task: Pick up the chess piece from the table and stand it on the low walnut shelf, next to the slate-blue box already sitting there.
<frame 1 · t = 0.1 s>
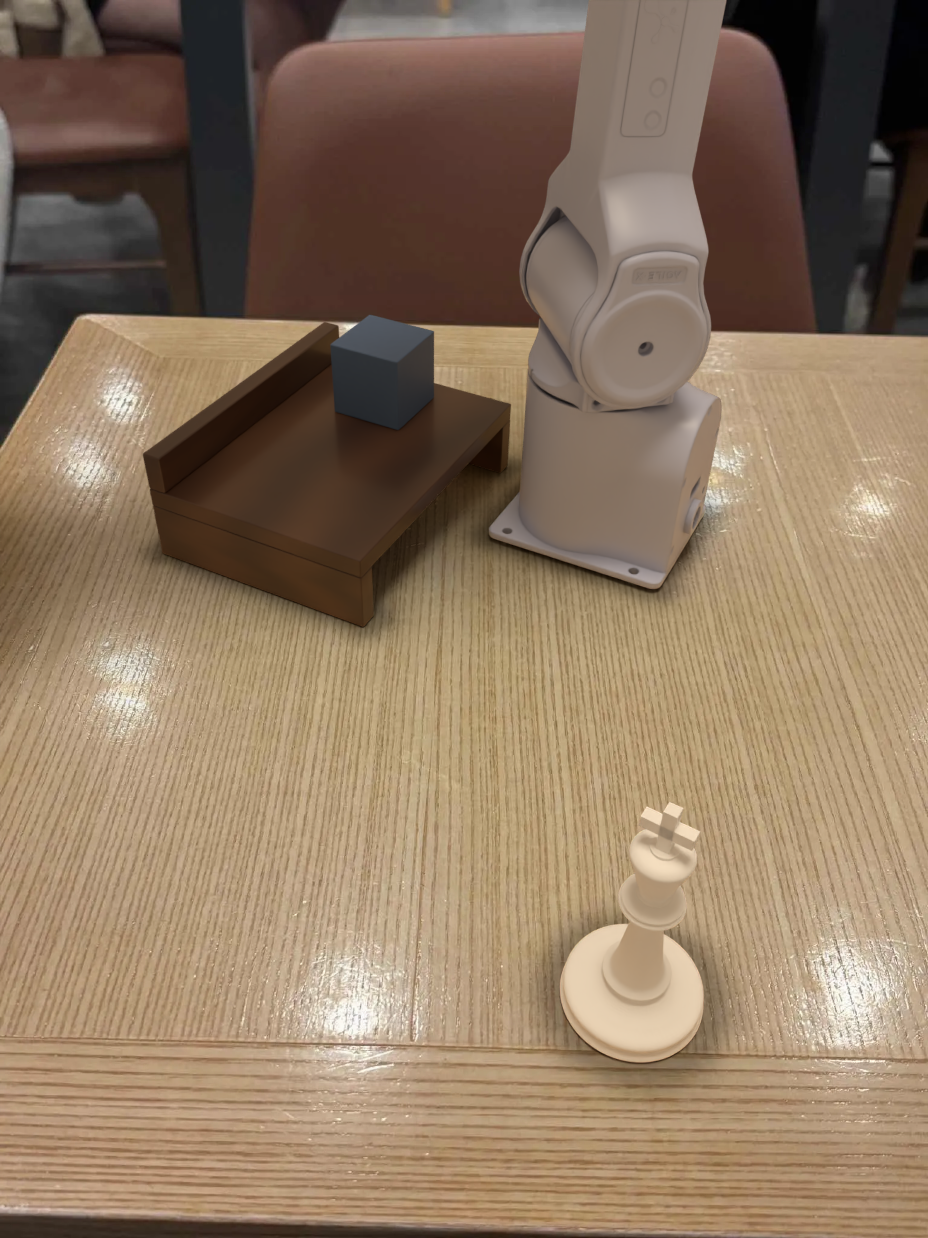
chess piece: (630, 997, 38), on the table
blue box: (384, 404, 60), point 4 cm above the table, touching shelf
shelf: (345, 506, 59), on the table
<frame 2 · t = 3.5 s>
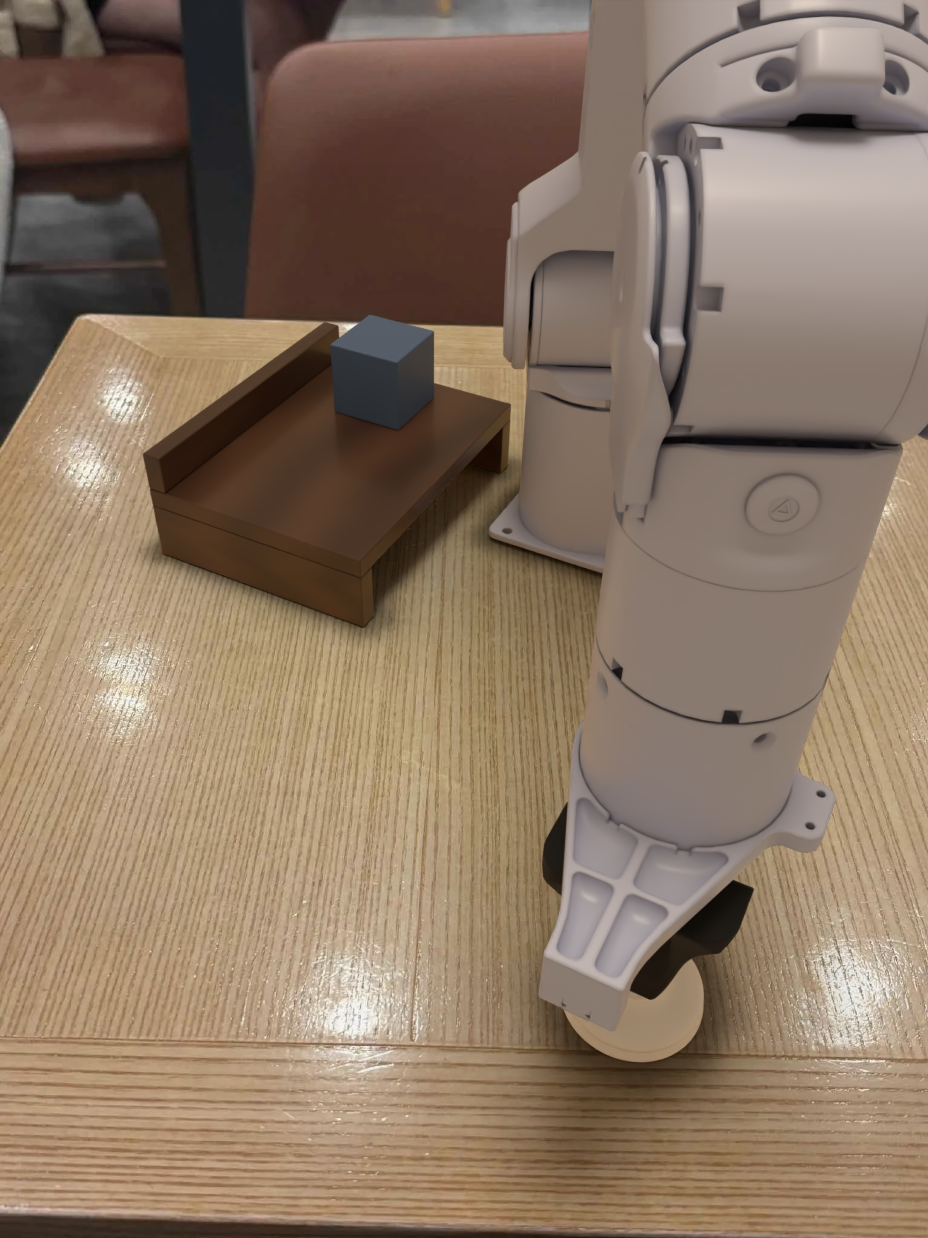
hand: (641, 948, 36), 3 cm above the table, tool pointing down, fingers closed on chess piece
chess piece: (630, 997, 38), on the table, touching gripper
everything else where it was.
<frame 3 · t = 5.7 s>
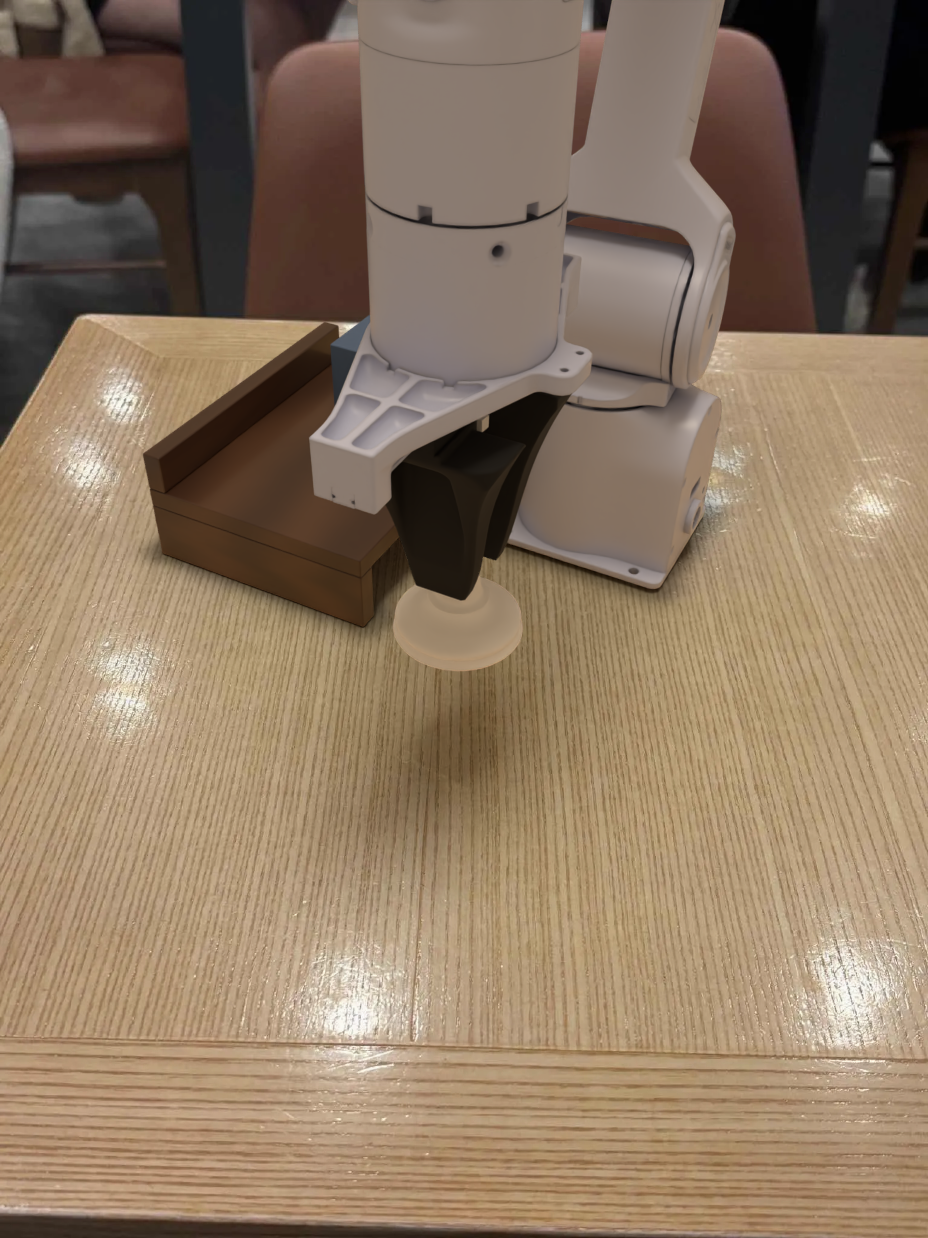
hand: (459, 568, 40), 10 cm above the table, tool pointing down, fingers closed on chess piece
chess piece: (457, 631, 42), point 7 cm above the table, touching gripper
everything else where it was.
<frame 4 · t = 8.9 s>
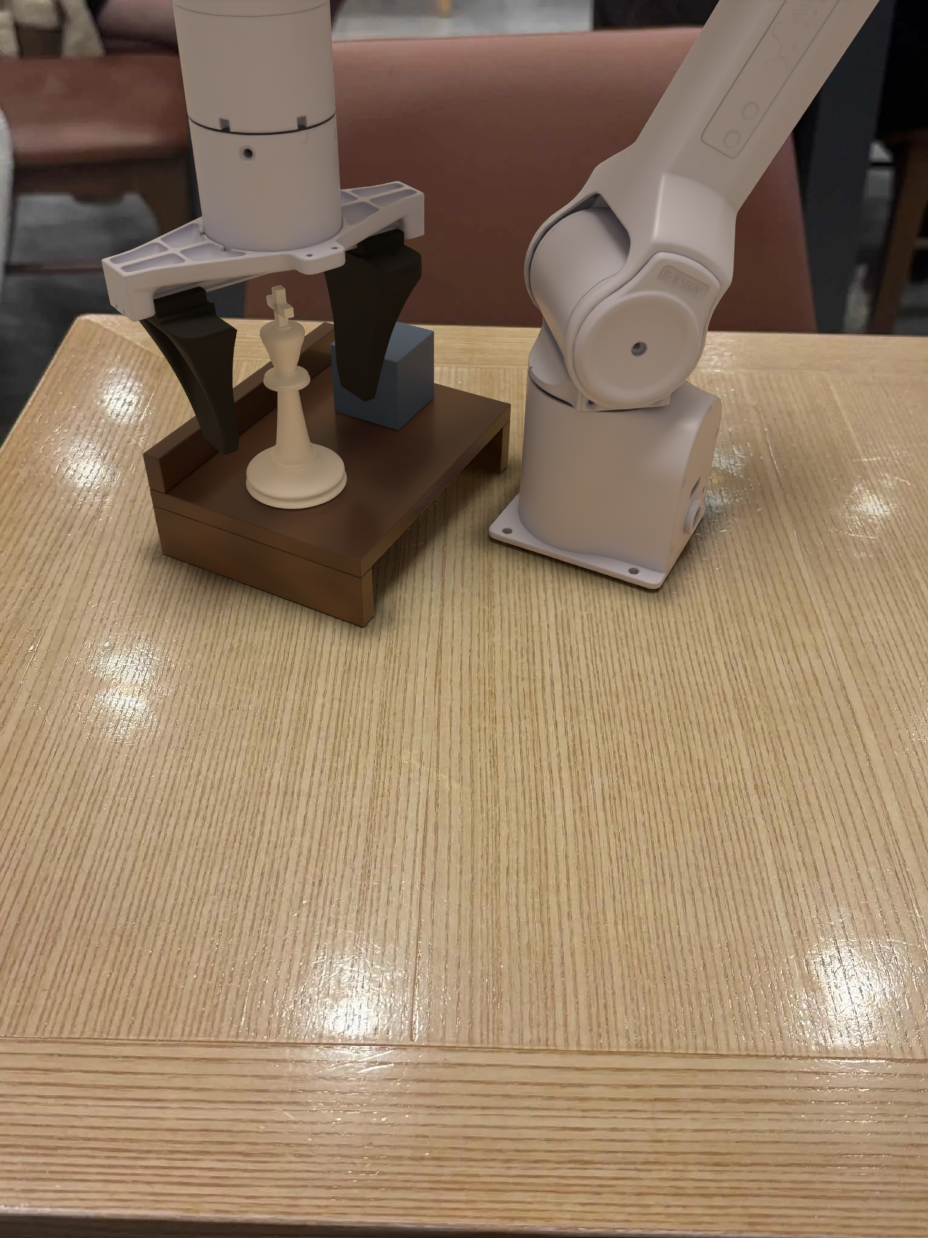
hand: (292, 416, 52), 8 cm above the table, tool pointing down, fingers open, 7 cm apart
chess piece: (297, 484, 54), point 4 cm above the table, touching shelf
everything else where it was.
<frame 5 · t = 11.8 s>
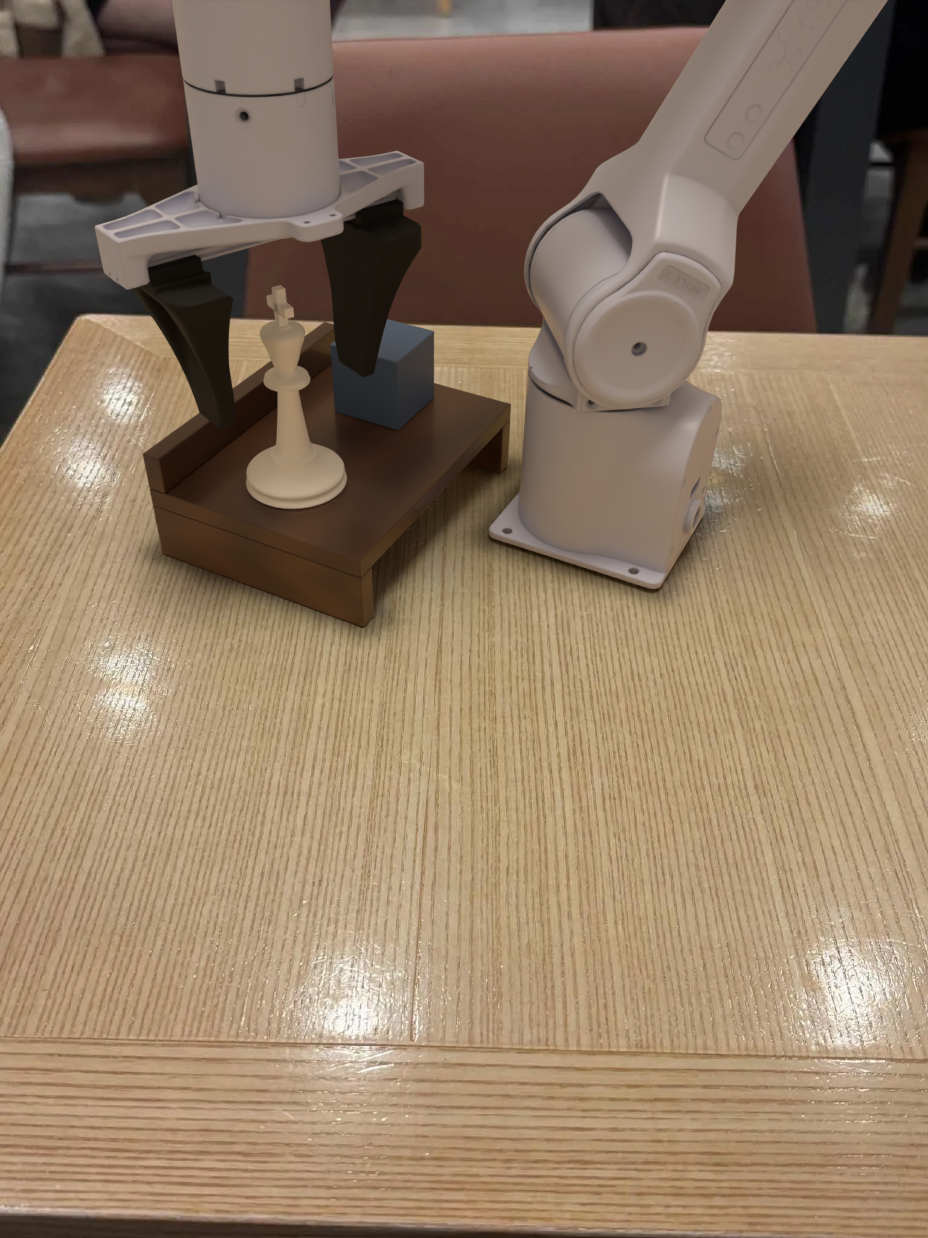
hand: (289, 392, 51), 9 cm above the table, tool pointing down, fingers open, 7 cm apart
nothing on the table moved.
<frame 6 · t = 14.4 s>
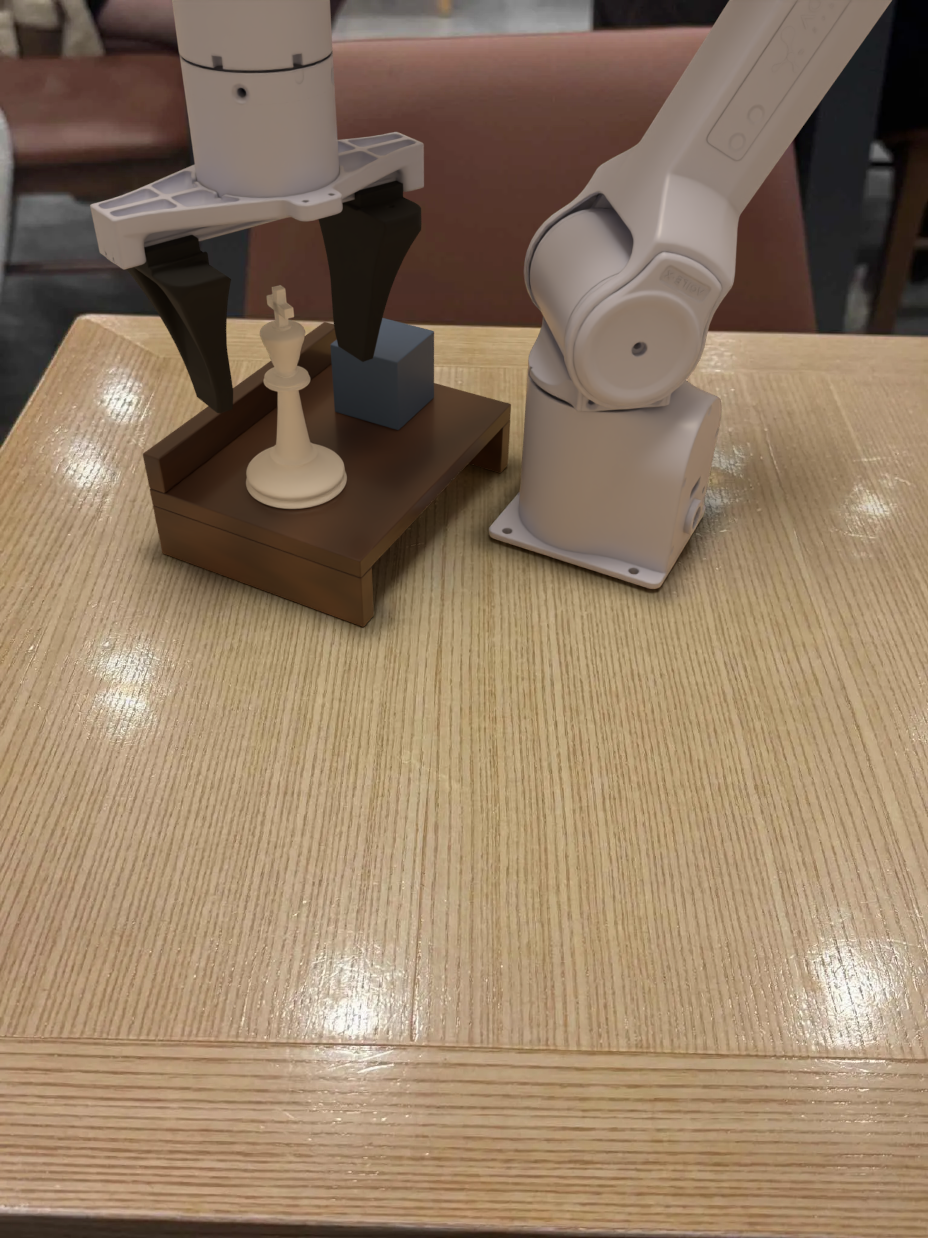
hand: (287, 376, 50), 10 cm above the table, tool pointing down, fingers open, 7 cm apart
nothing on the table moved.
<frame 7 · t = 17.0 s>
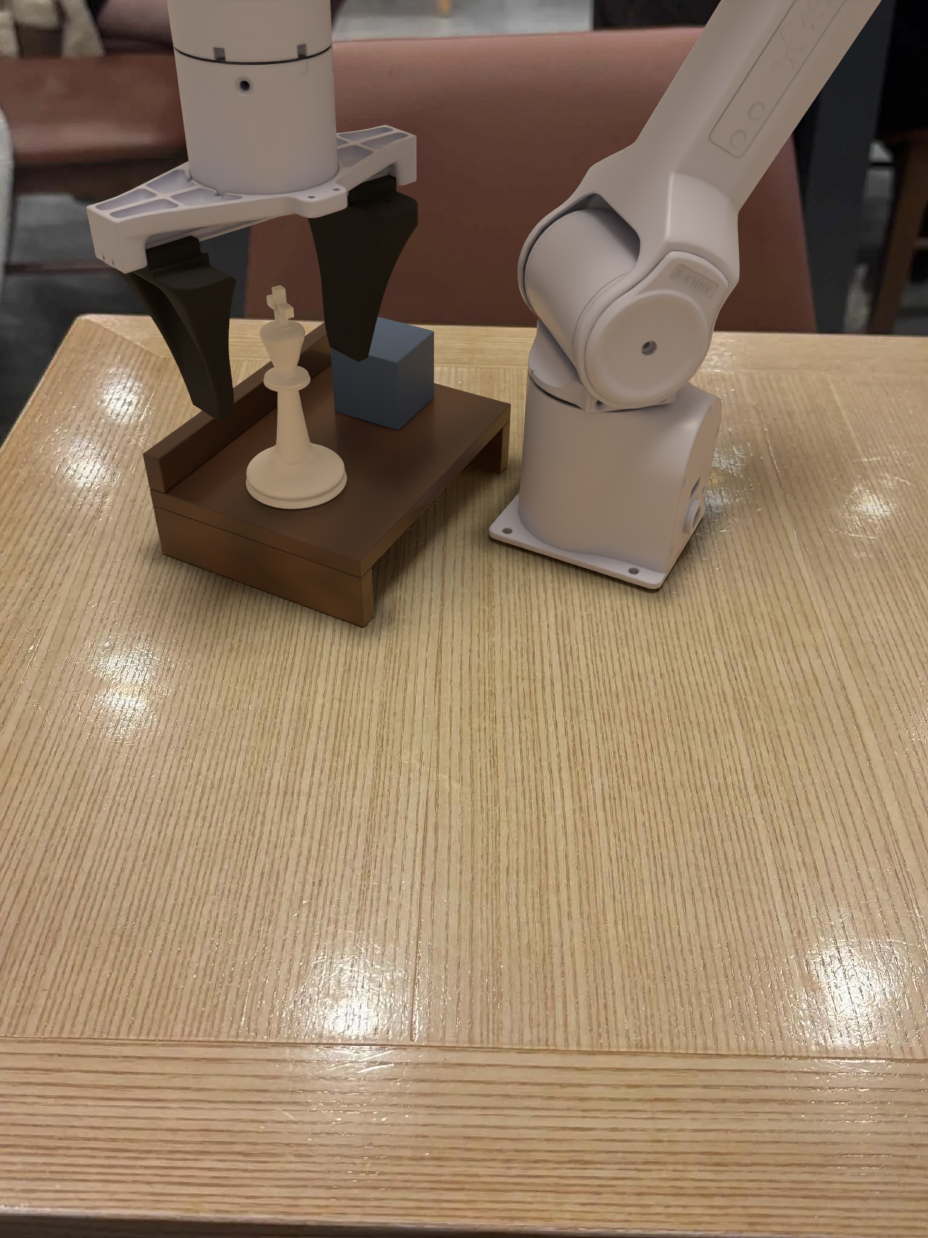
hand: (283, 379, 49), 10 cm above the table, tool pointing down, fingers open, 7 cm apart
nothing on the table moved.
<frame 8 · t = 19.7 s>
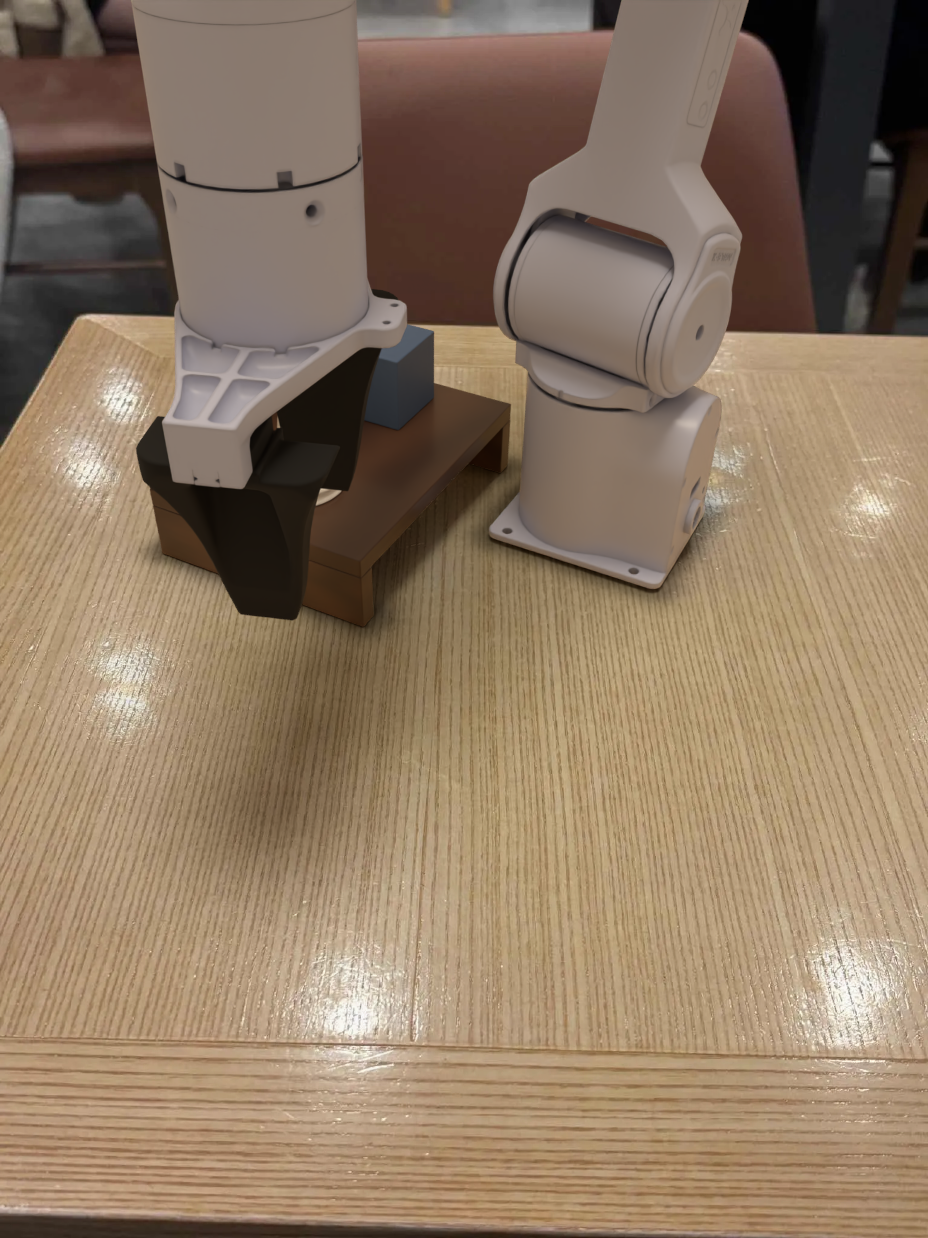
hand: (299, 543, 40), 10 cm above the table, tool pointing down, fingers open, 7 cm apart
nothing on the table moved.
at the end: chess piece inside the target area on the shelf (0.3 cm from its centre), point 3.8 cm above the shelf's base; chess piece tilted 0°; chess piece 8.5 cm from the blue box (horizontally) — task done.
